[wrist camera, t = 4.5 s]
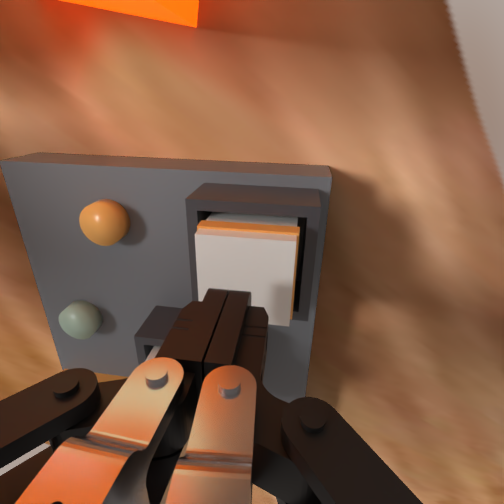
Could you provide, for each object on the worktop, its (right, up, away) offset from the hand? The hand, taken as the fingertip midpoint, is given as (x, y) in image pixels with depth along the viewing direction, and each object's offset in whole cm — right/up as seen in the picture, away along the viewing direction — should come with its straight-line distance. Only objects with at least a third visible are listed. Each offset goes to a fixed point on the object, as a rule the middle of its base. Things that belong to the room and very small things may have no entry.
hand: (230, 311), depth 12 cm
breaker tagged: (+1, +3, +6) cm, 7 cm away
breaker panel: (-4, -2, +13) cm, 13 cm away
